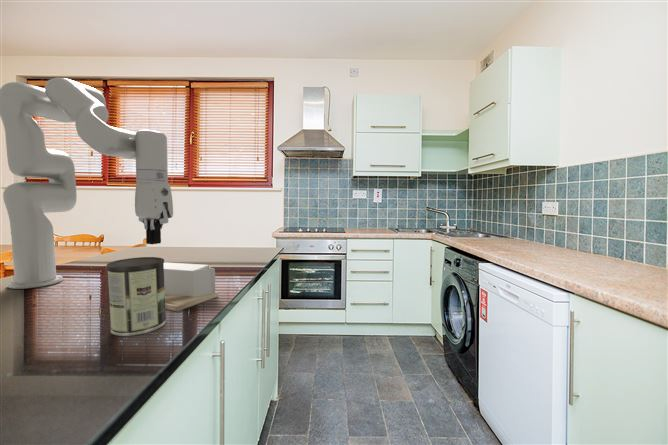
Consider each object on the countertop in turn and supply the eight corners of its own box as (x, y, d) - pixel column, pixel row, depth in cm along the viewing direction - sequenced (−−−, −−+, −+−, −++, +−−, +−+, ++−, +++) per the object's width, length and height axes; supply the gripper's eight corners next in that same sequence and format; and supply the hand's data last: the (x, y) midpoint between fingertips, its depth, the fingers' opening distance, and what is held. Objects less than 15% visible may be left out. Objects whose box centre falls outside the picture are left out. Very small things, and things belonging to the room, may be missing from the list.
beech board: (115, 297, 86) (115, 292, 86) (159, 285, 98) (159, 281, 98) (177, 311, 76) (177, 306, 76) (217, 296, 88) (217, 291, 88)
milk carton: (146, 293, 86) (207, 298, 82) (144, 267, 86) (206, 271, 82) (165, 285, 93) (222, 290, 89) (164, 262, 93) (221, 265, 88)
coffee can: (142, 314, 74) (140, 255, 73) (177, 320, 71) (175, 258, 70) (97, 332, 64) (93, 264, 63) (134, 340, 61) (131, 268, 60)
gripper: (183, 178, 86) (184, 244, 88) (147, 178, 93) (148, 239, 94) (158, 176, 80) (159, 248, 81) (121, 176, 86) (123, 243, 87)
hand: (153, 243), depth 88 cm, fingers closed
